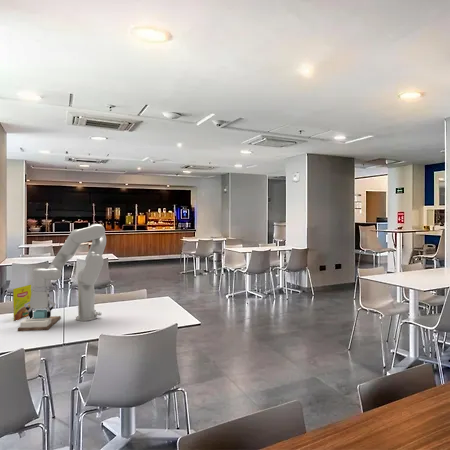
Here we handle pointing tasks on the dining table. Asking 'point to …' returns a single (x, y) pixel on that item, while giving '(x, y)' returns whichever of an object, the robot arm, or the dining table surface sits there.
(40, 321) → the white tray
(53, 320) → the board
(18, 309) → the food package
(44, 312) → the teal cube
